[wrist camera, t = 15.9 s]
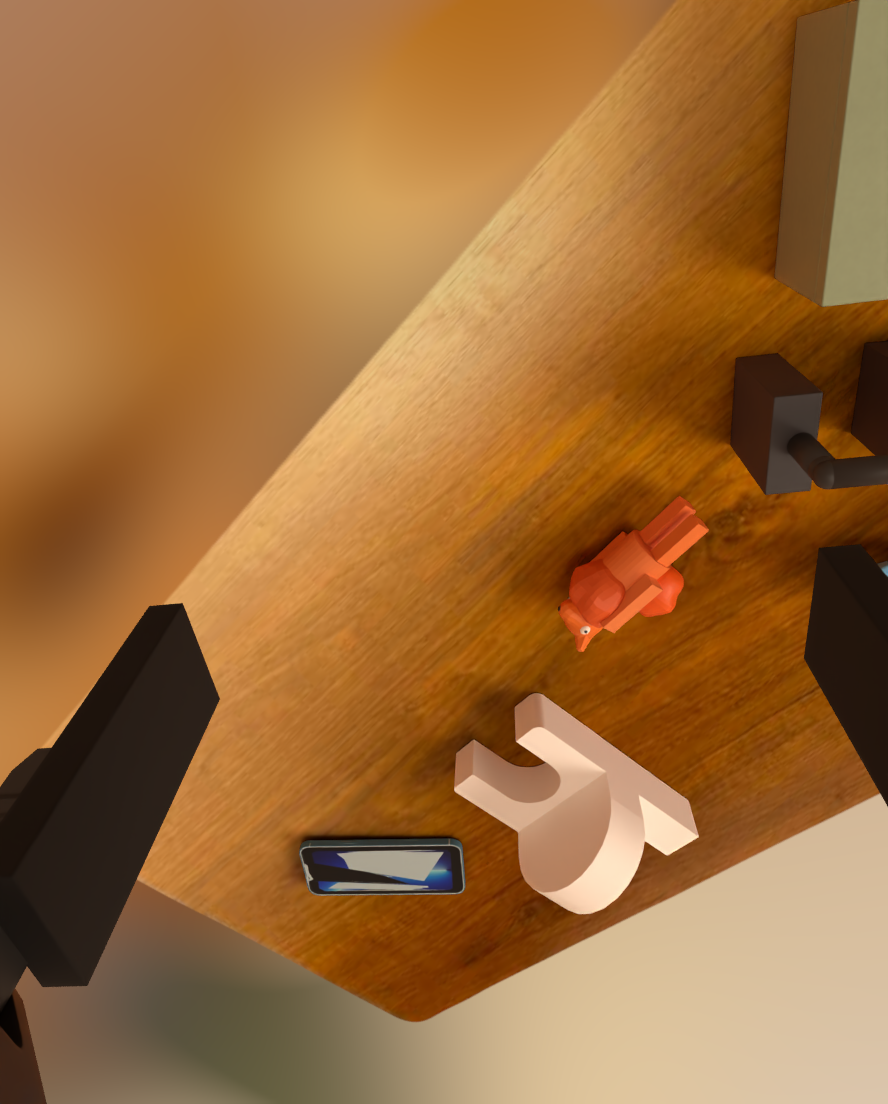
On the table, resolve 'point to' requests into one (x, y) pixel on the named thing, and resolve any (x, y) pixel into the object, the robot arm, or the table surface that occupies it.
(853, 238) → the shelf
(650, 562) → the orange toy bird
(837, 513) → the table surface
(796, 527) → the table surface
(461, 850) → the smartphone
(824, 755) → the table surface
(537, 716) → the white thick notched block
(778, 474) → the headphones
